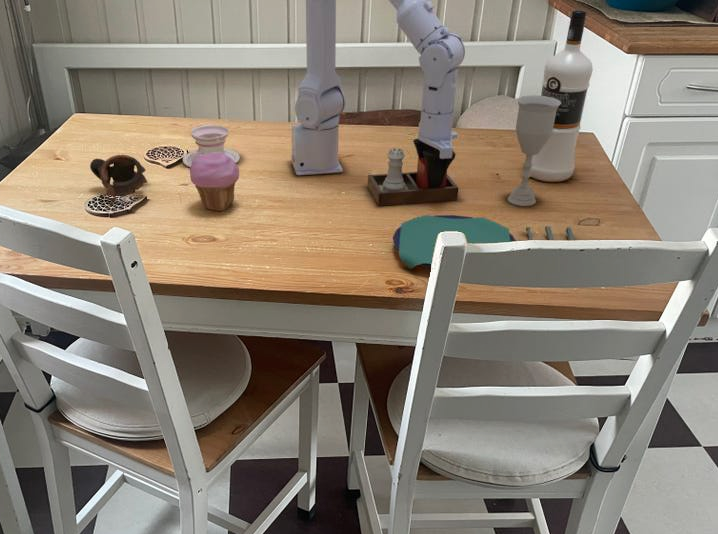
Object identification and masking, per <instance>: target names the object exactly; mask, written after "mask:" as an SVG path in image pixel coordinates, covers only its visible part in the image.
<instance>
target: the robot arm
mask: <svg viewBox="0 0 718 534" xmlns="http://www.w3.org/2000/svg"><path fill="white" fill-rule="evenodd" d="M388 1H389V2H390V4H391V5H392V6H393V8H394V9H395V10H396V24H397V26H398V27H399V28H400V29H401V30H402V33H404V35H405V36H406V38H407V39H408V41H409V42H410V43H411V44H412V46H413V47H414V49H415V50H416V52H417V53H418V54H419V56H418V62H419V66H420V69H421V70H422V73H423V83H422V84H423V85H422V97H421V110H420V120H419V121H420V122H418V130H417V133H418V134H417V138H415V139H413V140H412V141H413V145H414V147H415V149H416V154H417V159H418V158H425V160H426V164H427V172H428V186H429V188H440V187H441V185H442V182H443V179H444V176H445V174H446V171H447V172H448V169H449V167H450V165H451V163H453V161H454V160H455V158H456V152H455V151H454V147H453V145H452V141H453V139H454V140H455V139H457V138H458V135H459V134H458V133H457V132H456V131H453V122H454V111H455V103H456V94H457V81H458V72H459V68H458V67H459V66H460V65H461V64H462V63H463V61H464V59H465V55H466V48H465V45H464V42H463V40H462V37H461V36H459V35H458V34H456V33H452V32H451V30H450V29H449V27H448V26H445V25H444V24H443V23H442V21H441V20H440V19H439V17H438V15H436V13H435V12H434V10H433V9H434V8H435V6H434V4H433V3H432V1H430V0H429V1H427V0H388ZM336 30H337V0H305V33H306V34H305V36H306V37H305V40H306V41H305V42H306V43H305V44H306V45H305V46H306V47H305V48H306V74H305V76H304V77H303V79H302V81H301V82H300V84H299V86H298V96H297V100H296V101H295V104H294V105H295V106H294V112H295V117H296V119H297V120H298V122H299V124H295V125H292V126H291V164H292V167H293V169H294V172H295V174H296V176H306V175H308V176H309V175H322V174H323V175H324V174H339V173H343V172H344V169H343V167H342V165H341V163H340V162H339V137H340V136H339V134H340V132H339V129H340V128H339V127H340V124H339V123H340V119H341V118H340V117H341V116H340V115H341V114H343V112H344V111H345V108H346V105H347V103H346V102H347V101H346V100H347V99H346V95H345V93H344V90H343V80H342V78H341V77H340V76H339V75H338V73H337V72H336V51H337V50H336V47H337V46H336V44H337V42H336V41H337V39H336V36H337V34H336V32H337V31H336Z"/></svg>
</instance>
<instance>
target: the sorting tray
mask: <svg viewBox="0 0 718 534" xmlns="http://www.w3.org/2000/svg"><path fill="white" fill-rule="evenodd" d="M387 174H388V173H380V174H379V173H378V174H368V175H367V188H368V191H369V192H370V194H371V196H372V197H373V199H374V201H375V203H376V205H377V206H378V207H384V206H386V207H387V206H398V205H399V206H400V205H412V204H427V203H439V202H440V203H441V202H453V201H458V196H459V186H458V185H457V184H456V182H454V180H453V179H452V178H451V177H450V175H448V173H447V177H446V186H445V187H441V188H427V189H419V188H418V186H417V185H416V178H417V171H409V172H407V171H406V172H402V177H403V179H404V180H403V181H404V182H405V184H406V186H405V187H404V188H405V189H406V190H399V191H385V192H383V190H382V188H383V187H384V186H383V182H384V181H385V178H386V177H387Z"/></svg>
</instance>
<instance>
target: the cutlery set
mask: <svg viewBox="0 0 718 534" xmlns="http://www.w3.org/2000/svg"><path fill="white" fill-rule="evenodd" d="M572 230H573V229H572V227H566V229H565V233H566V236H567V239H568V241H569V240H574V241H575V237H574V233H573V231H572ZM444 231H458V232H462V233H464V234H465V236H466V239H467V242H468V243H473V244H474V243H498V242H511V241H516V242H517V240H516V238H515V237H514V235H513V234H511V233H510V229H509V228H508V227H506V226H504V225H502V224H500V223H498V222H496V221H493V220H490V219H488V218H486V217H473V216H463V215H456V214H455V215H454V214H444V215H443V214H441V215H438V214H437V215H428V214H426V215H424V214H423V215H421V216H417V217H414V218H412V219H409V220H405V221H403V222H402V223H400V226H399V227H398V228H397V229H395V232H394V234H393V236H392V242H393V245H394V248H395V250H396V251H398V256H399V259H400V260H401V262H402V264H403V265H404V266H405V267H407V268H408V269H409V270H411V269H413V268H414V267H416V266H419V265H420V266H423V267H426V268H429V269H432V268H431V263H432V257H433V252H434V247H435V242H436V238H437V235H438V233H440V232H444ZM525 231H526V232H527V234H528V240H534V238H533V236H532V233H531V226H526V227H525ZM544 231H545V233H546V236H547V238H548V239H547V240H548V241H549V240H554V237H553V232H552V227H551V226H550V225H549V226H548V225H547V226H546V225H545V227H544Z"/></svg>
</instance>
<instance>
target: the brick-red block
mask: <svg viewBox="0 0 718 534" xmlns="http://www.w3.org/2000/svg"><path fill="white" fill-rule="evenodd" d="M416 167H417V168H416V172H417V178H416V185H417V186H418V188H419V189H427V188H429V186H428V172H427V164H426V160H425V158H418V157H417V166H416ZM447 174H448V170H447V171H446V174H445V176H444V179H443V182H442V185H441V187H445V186H446V177H447ZM441 187H440V188H441Z"/></svg>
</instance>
